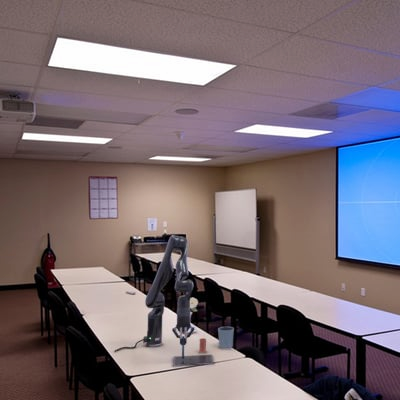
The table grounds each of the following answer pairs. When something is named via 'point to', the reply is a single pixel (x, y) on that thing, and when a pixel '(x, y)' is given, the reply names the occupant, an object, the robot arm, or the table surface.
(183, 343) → the stylus
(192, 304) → the flower in vase
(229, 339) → the blue-grey tapered bin
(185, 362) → the tablet
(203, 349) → the pen pot
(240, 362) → the table surface
